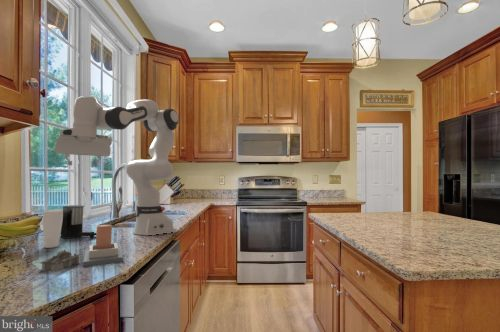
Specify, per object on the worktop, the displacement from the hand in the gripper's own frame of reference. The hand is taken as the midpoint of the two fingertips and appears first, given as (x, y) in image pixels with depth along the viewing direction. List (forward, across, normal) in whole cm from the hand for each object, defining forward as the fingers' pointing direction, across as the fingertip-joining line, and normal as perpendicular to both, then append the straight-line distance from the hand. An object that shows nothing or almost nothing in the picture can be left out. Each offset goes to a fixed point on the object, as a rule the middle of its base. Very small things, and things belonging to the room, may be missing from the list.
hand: (83, 165), depth 114 cm
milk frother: (+34, +1, -20) cm, 40 cm away
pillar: (+32, -8, +21) cm, 40 cm away
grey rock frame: (+35, +4, +25) cm, 43 cm away
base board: (+34, -8, +21) cm, 41 cm away
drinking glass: (+34, +10, -4) cm, 36 cm away
